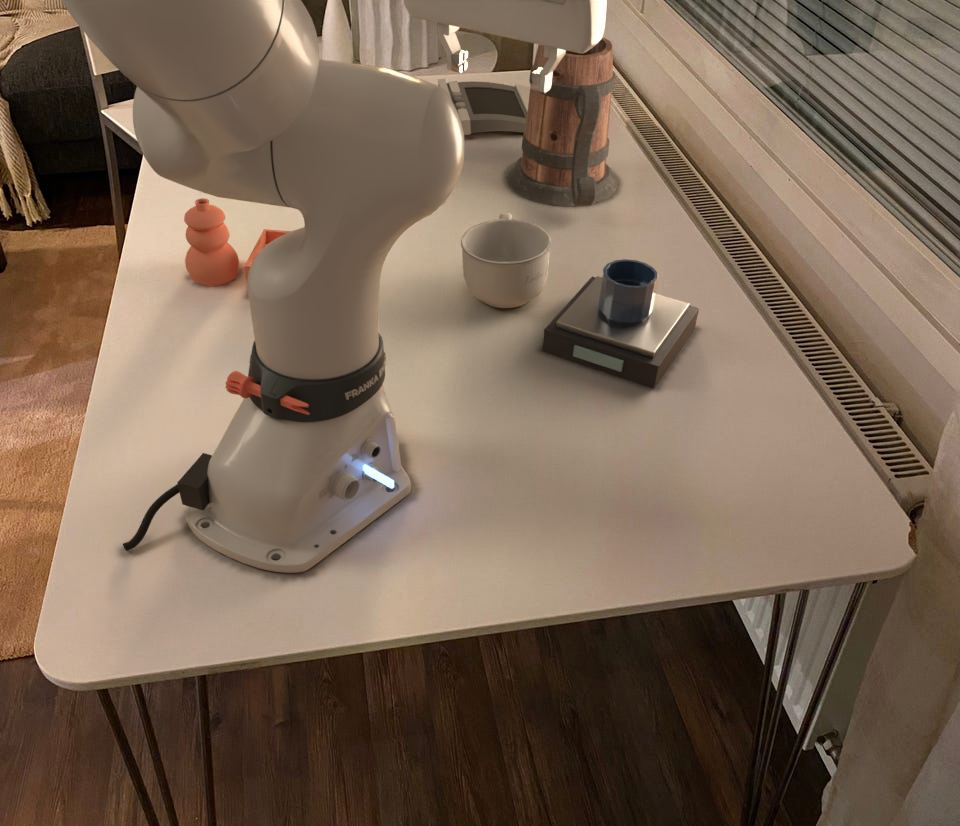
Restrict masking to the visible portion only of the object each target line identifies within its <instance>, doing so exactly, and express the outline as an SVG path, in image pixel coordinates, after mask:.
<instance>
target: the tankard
mask: <svg viewBox="0 0 960 826" xmlns="http://www.w3.org/2000/svg"><path fill="white" fill-rule="evenodd" d="M548 59H549V57H548V58H547V57H544V45H539V44H537V49H536V53H535V57H534V61H533V64H532V65H531V67H530V70H529V71H530V73H529V79H528V80H529V85H530V86H529V88H530V94H529V103H528V112H527V120H526V129H525V132H524V133H523V132H522V139H521V152H522V154H521V156H520V157H519V158H518V159H517V160H516V162H514V164H513V166H512V167H511V168H509V170H508V171H507V172H506V177H505V178H506V183H507V184H508V186H509V188H510V189H511V190H512V191H513V192H514V193H516V194H518V195H520V196H521V197H523V198H526V199H528V200H530V201H534V202H536V203H539V204H545V205H549V206H557V207H558V206H559V207H591V206H592V205H594V204H597V203H601V202H603V201H605V200H607V199H609V198H611V196H613V195H614V194H615V193H616V191H617V189H618V182H617V181H618V180H617V179H616V178H615V176H614V175H613V174H612V170H611V167H609V165H608V164H607V158H608V156H609V150H610V139H609V129H610V118H611V117H610V115H611V104H612V93H613V90H614V87H615V78H616V73H615V71H614V60H613V44H612V42H611V41H610V40H609V39H608V38H606V37H602V39H601V40H600V41H599V42H598V44H596V45H595V46H594V47H593V48H592V49H590V50H588V51H587V52H585V53H576V52H571V51H567V50H566V54H565V55H564V57H563V58H562V59H561V61H560V62H559V64H558V65H557V67H556V68H555V70H554V71H553V75H552V86H551V88H550V90H549V91H547V92H546V93H543V92H539V91H535V90H532V89H531V84H532V80H531V78H532V72H534V71H536V70H537V69H538V68H539V67H541V68H543V67H544V66H545V64H546V62H547V61H548Z"/></svg>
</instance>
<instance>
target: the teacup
mask: <svg viewBox="0 0 960 826" xmlns="http://www.w3.org/2000/svg"><path fill="white" fill-rule="evenodd" d="M551 239H552V238H551V236H550V235H549V233H548V232H547V230H546V229H544V228H543V227H541V226H539V225H538V224H536V223H533V222H530V221H525V220H523V219H522V220H521V219H513V217H512V213H510V212H501V213H499V216H498V219H491V220H487V221H482V222H479V223H477V224H475V225H473V226H471V227H470V228H468V229H467V230H466V231H465V232H464V233H463V234H462V236H461V238H460V247H461V250H462V271H463V278H464V282H465V285H466V288H467V290H468V291H469V292H470V293H471V295H472V296H474V297H475V298H476V299H477V300H479V301H481V302H482V303H484V304H486V305H488V306H490V307H493V308H496V309H497V308H498V309H514V308H519V307H522V306H523V305H525V304H527V303H529V302H531V301H532V300H534V299H535V298H537V297H538V295H540V294H541V293H542V291H543V290H544V289H545V286H546V283H547V280H548V276H549V275H548V274H549V264H550V248H551V245H552V240H551Z"/></svg>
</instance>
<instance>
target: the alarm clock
mask: <svg viewBox="0 0 960 826" xmlns="http://www.w3.org/2000/svg"><path fill="white" fill-rule="evenodd" d="M437 85H438V86H440V87H442V88H443V89H444V90H445V92H446V93H447V94H448V96H449V97H450V99H451V100H452V102H453V104H454V105H455V107H456V110H457V112H458V114H459V117H460V120H461V123H462V128H463V132H464V136H469V135H471V134H475V133H484V132H513V133H514V132H516V133H517V132H518V133H522V134H523V133H524V132H525V129H526V120H527V112H528V103H529V94H530V86H526V85H521V84H517V83H515V84H514V85H509V84H504V83H498V82H497V83H496V82H491V81H490V82H489V81H476V80H475V81H474V80H473V81H471V80H470V81H458V80H451V81H448V82H447V81H446V78H440V79H439V78H438V79H437Z"/></svg>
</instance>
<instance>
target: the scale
mask: <svg viewBox="0 0 960 826" xmlns="http://www.w3.org/2000/svg"><path fill="white" fill-rule="evenodd" d="M596 277H597V276H596ZM596 277H595V276H591V277H590V278H589V279H588V280H587V281H586V282H585V283H584V284H583V286H582V287H581V288H580V289H579V290H578V291H577V292H576V294H575V295H574V296H573V297H572V298H571V299H570V300H569V301H568V302H567V303H566V304H565V306H564V307H563V308H562V309H561V310H560V312H559V313H558V314H557V315H556V316H555V317H554V318H553V319H552V320H551V321H550V322H549V324H548V325H546V327H545V328H544V329H543V337H542V347H541V351H542V352H544V353H546V354H550V355H553V356H556V357H558V358H562V359H565V360H568V361H571V362H573V363H577V364H580V365H583V366H586V367H589V368H592V369H595V370H598V371H601V372H604V373H608V374H610V375H613V376H617V377H619V378H622V379H625V380H628V381H632V382H634V383H638V384H641V385H643V386H645V387H646V386H647V387H650V388H653V389H655V388H656V386H657V385H658V383H659V382H660V380H661V379H662V377H663V376H664V374H665V373H666V372H667V370H668V369H669V367H670V366H671V364H672V363H673V361H674V360H675V358H676V357H677V355H678V354H679V353H680V351H681V350H682V348H683V347H684V346H685V344H686V343H687V341H688V340H689V338H690V337H691V335H692V334H693V332H694V330H695V329H696V324H697V320H698V315H699V311H700V308H699V307H696V306H693V305H689V309H688V310H687V312H686V313H685V315H684V316H683V317H682V319H681V320H680V322H679V323H678V324H677V326H676V327H675V329H674V330H673V331H672V333H671V334H670V336H669V337H668V338H667V340H666V341H665V343H664V344H663V345H662V347H661V348H660V350H659V351H658V352H657V354H656V355H655V357H654V358H651V357H647V356H644V355H641V354H638V353H635V352H632V351H629V350H626V349H623V348H619V347H616V346H613V345H610V344H607V343H604V342H601V341H598V340H594V339H591V338H588V337H585V336H582V335H579V334H576V333H573V332H570V331H566V330H563V329H560V328H557V327H556V322H557V321H558V319H559V318H560V317H561V316H562V315H563V314H564V313H565V312H566V310H567V309H568V308H569V307H570V306H571V305H572V304H573V303H574V302H575V300H576V299H577V298H578V297H579V296H580V295H581V294H582V293H583V291H584V290H585V289H586V288H587V287H588V286H589V285H590V284H591V283H592V281H593V280H594V279H595V278H596Z"/></svg>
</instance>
